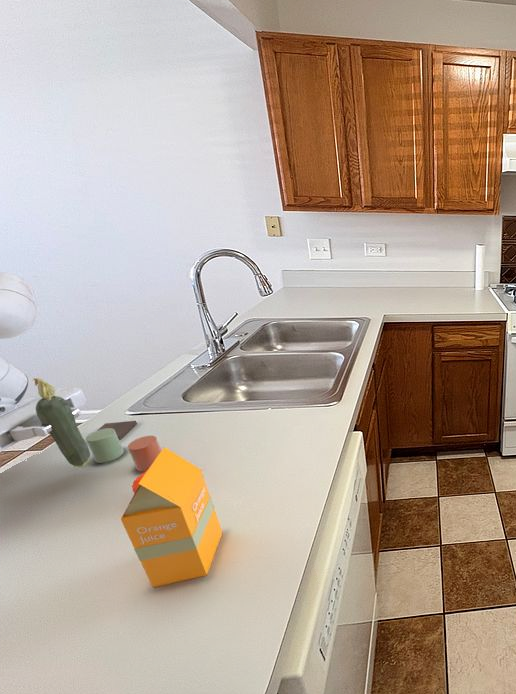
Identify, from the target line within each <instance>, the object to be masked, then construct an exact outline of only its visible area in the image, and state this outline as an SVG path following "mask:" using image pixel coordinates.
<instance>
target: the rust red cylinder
mask: <svg viewBox="0 0 516 694" xmlns="http://www.w3.org/2000/svg"><path fill="white" fill-rule="evenodd" d="M127 449H128V452H129V454H130V456H131V459H132V461H133V464H134V466H135V468H136V471H138V472H140V473H144V472H146V471H147V470H148V469H149V468H150V466H151V465H152V464H153V462H154V461H155V459H156V458H157V456H158V455H159V454H160V452H161V451H162V448H161V445H160V443H159V440H158V437H157V436H156V435H144V436H141V437H138V438H136V439H134V440H132V441H131V442H130V443H129V444H128V445H127Z"/></svg>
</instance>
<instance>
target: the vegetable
mask: <svg viewBox="0 0 516 694" xmlns="http://www.w3.org/2000/svg"><path fill="white" fill-rule="evenodd" d="M33 381H34V387H35V386H36V387H37V390H38V393H39V396H40V397H42V399H40V400H39V401H38V403H37V405H36V414H37V416H38V418H39V420H40V421H41V423H42V424H50V425H51V426H52V429H53V432H51V433H49V434H48V435H50V436H51V437H52V439H53V440H54V442H55V444H56V445H57V448H58V449H59V451H60V452H61V454H62V455H63V457H64V458H65V459H66V461H67V462H68V463H69V464H70V465H71V466H74V467H78V468H82V467H83V466H85V464H87V463H88V462H89V459H90V458H91V451H90V449H89V446H88V444H87V442H86V440H85V438H83V436H82V434H81V431H80V429H79V427H78V425H77V422H76V418H74V416H73V414H72V410H71V408H70V405H69V404H68V403H67V401H66V400H65V399H63V398H62V397H59V396H55V395H54V394H55V389H56V388H55V387H54V386H53V385H52V384H50V383H49V382H46V381H44V380H43V379H42V378H37V377H36V378H35V377H34V378H33ZM38 393H37V394H38Z"/></svg>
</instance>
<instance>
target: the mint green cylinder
mask: <svg viewBox="0 0 516 694" xmlns="http://www.w3.org/2000/svg"><path fill="white" fill-rule="evenodd" d="M97 430H98V429H97ZM97 430H96V431H93V432H91V433H89V434H88V435H87V436H86V437H85V438H84V440H85V442H86V444H87V446H88V448H89V451H90V454H91V455H92V457H93V459H94V462H95V463H97V464H104V463H109V462H113V461H114V460H116V459H119V458H120V457H121V456H122V455H123V454H124V453H125V450H124V448H123V446H122V444H121V441H120V440H119V439H118V436H117V434H116V432H115V430H114V429H113V428H106V429H101V430H98V431H97Z"/></svg>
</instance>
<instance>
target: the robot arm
mask: <svg viewBox="0 0 516 694" xmlns="http://www.w3.org/2000/svg"><path fill="white" fill-rule="evenodd" d="M36 313H37V300H36V294H35V291H34V288H33V287H32V285H31V284H30V283H29V282H28V280H26V279H25V278H24V277H22V276H19V275H16V274H14V273H10V272H0V340H5V339H10V338H11V339H12V338H15V337H18V336H21V335H23V334H26V333H27V332H28V331H29V330H30V329H31V328H32V326H33V325H34V323H35V320H36ZM28 386H29V377H28V376H27V374H25V373H23V372H22V371H20V370H19V368H17V367H16V366H14V365H12V364H11V363H10V362H8V360H7V361H6V360H5V359H3V358H2V357H0V453H1V452H3V451H5V450H7V449H8V448H10V447H12V446H13V445H16V444H17V443H19V442H22V441H26V440H29V439H33V438H36V437H46V436H48V435H50V434H49V433H51V432H53V429H52V426H51V425H50V424H42V423H41V421H40V420H39V418H38V416H37V414H36V405H37V403H38V401H39V400H40V399H42V397H40V396H39V393H36V394H34V395H31V396H30V397H27V398H26V399H23V398H24V396H25V394H26V392H27V390H28ZM54 389H55V394H54V395H55V396H59V397H62V398H63V399H65V400H66V401H67V403H68V404H69V405H70V408H71V410H72V414H73V416H74V418H75V419H77V418H78V417H80V416H82V412H81V410H80V409H79V408H81V407H83V406H85V405H86V404H87V398H86V395H85V393H84V391H83V390H82V389H81V388H79V387H66V388H63V387H62V388H54ZM22 399H23V400H22Z"/></svg>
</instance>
